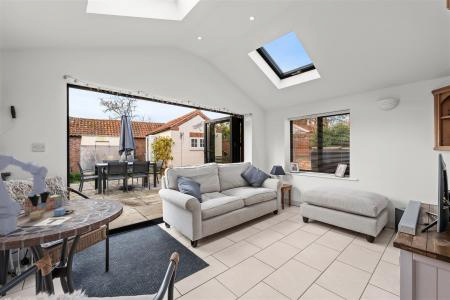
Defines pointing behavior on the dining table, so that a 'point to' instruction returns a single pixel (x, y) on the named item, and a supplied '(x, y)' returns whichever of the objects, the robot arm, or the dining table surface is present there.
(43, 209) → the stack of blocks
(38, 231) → the dining table surface
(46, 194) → the robot arm
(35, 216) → the oak block
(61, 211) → the blue cube
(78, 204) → the dining table surface
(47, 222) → the letter card
